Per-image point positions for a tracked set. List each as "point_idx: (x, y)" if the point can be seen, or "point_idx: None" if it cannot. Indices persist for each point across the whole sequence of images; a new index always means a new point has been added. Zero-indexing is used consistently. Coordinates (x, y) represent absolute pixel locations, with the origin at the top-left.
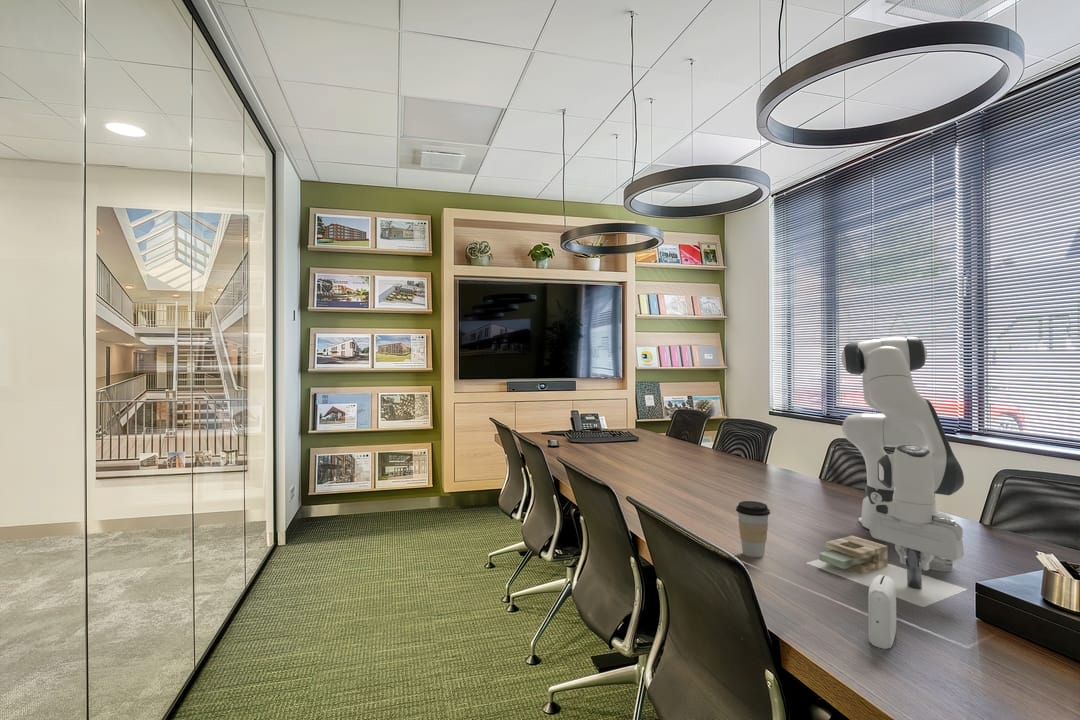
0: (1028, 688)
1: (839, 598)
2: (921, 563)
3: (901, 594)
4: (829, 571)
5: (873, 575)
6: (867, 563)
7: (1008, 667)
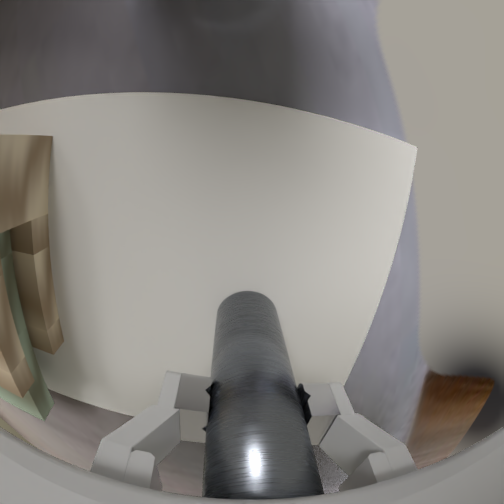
0: (430, 461)
1: (163, 474)
2: (312, 440)
3: None
4: None
5: (86, 322)
6: (20, 273)
7: (426, 452)
